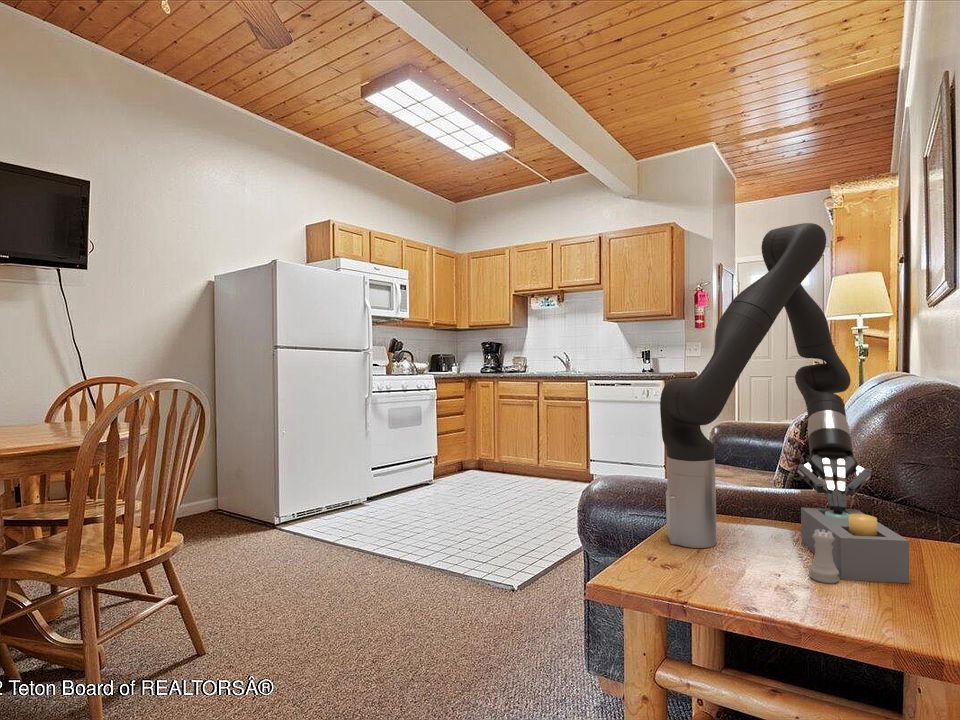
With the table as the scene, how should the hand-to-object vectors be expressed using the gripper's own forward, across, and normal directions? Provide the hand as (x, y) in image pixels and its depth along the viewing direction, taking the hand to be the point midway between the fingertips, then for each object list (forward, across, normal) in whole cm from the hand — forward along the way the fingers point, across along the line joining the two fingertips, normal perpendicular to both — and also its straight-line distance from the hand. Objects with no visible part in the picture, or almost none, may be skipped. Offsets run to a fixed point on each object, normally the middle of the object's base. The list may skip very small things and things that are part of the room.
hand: (838, 511), depth 103 cm
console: (+9, +1, +2) cm, 9 cm away
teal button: (+3, 0, +3) cm, 4 cm away
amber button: (+8, +3, -5) cm, 10 cm away
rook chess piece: (+16, -4, -5) cm, 18 cm away
